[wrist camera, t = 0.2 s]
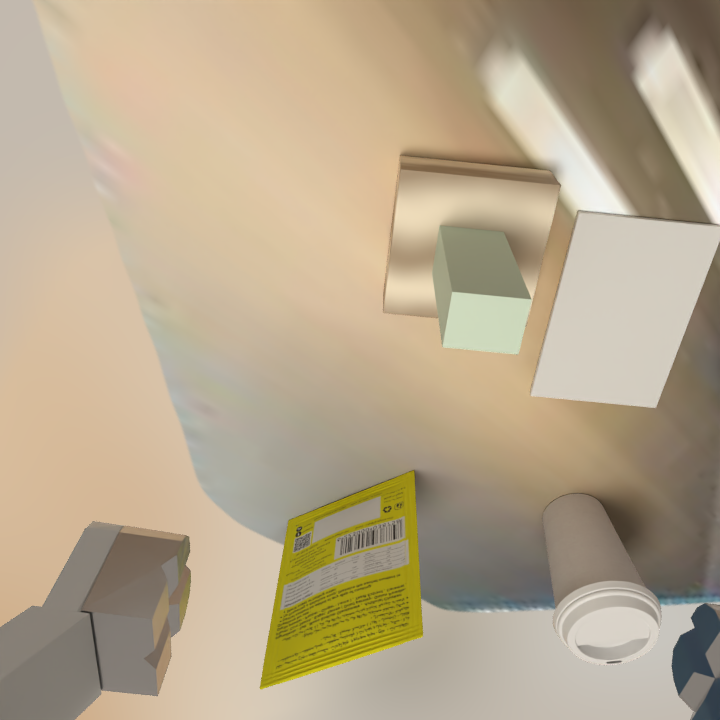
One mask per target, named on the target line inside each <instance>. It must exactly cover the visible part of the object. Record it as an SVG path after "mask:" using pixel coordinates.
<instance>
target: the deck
mask: <svg viewBox="0 0 720 720" xmlns="http://www.w3.org/2000/svg"><path fill="white" fill-rule="evenodd" d="M560 187H561V185H560V184H559V182H558V181H557V179H556V178H555V177H554V175H553V174H552V173H551V171H548V170H539V169H529V168H519V167H509V166H499V165H489V164H480V163H470V162H460V161H450V160H440V159H430V158H421V157H411V156H401V155H400V159H399V168H398V176H397V184H396V192H395V201H394V209H393V217H392V226H391V234H390V242H389V251H388V259H387V267H386V275H385V284H384V292H383V313H389V314H399V315H410V316H420V317H430V318H438V312H437V305H436V298H435V290H434V283H433V276H432V270H433V264H434V257H435V251H436V245H437V238H438V232H439V226H440V225H441V226H451V227H461V228H471V229H481V230H491V231H501V232H504V234H505V236H506V239H507V241H508V243H509V246H510V248H511V251H512V253H513V255H514V258H515V260H516V263H517V265H518V268H519V270H520V272H521V275H522V277H523V280H524V282H525V284H526V287H527V289H528V292H529V294H530V296H531V299H532V301H533V297H534V293H535V289H536V285H537V281H538V277H539V273H540V269H541V265H542V260H543V256H544V252H545V248H546V244H547V240H548V236H549V232H550V228H551V224H552V220H553V216H554V212H555V208H556V204H557V199H558V195H559V191H560ZM532 301H531V305H532ZM531 305H530V309H531ZM530 309H529V313H530ZM529 313H528V317H529ZM528 317H527V321H528ZM527 321H526V325H525V327H526V326H527Z"/></svg>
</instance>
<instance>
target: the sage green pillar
mask: <svg viewBox="0 0 720 720" xmlns="http://www.w3.org/2000/svg"><path fill="white" fill-rule="evenodd" d="M432 276H433V283H434V290H435V298H436V305H437V312H438V319H439V326H440V333H441V340H442V347H446V348H456V349H466V350H477V351H487V352H498V353H508V354H519V350H520V346H521V342H522V338H523V333H524V329H525V325H526V321H527V317H528V313H529V309H530V305H531V301H532V299H531V296H530V294H529V292H528V289H527V287H526V284H525V282H524V280H523V277H522V275H521V272H520V270H519V268H518V265H517V263H516V260H515V258H514V255H513V253H512V251H511V248H510V246H509V243H508V241H507V239H506V236H505V234H504V232H501V231H491V230H481V229H471V228H461V227H451V226H441V225H440V226H439V232H438V238H437V245H436V251H435V257H434V264H433V270H432Z"/></svg>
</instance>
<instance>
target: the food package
mask: <svg viewBox="0 0 720 720" xmlns="http://www.w3.org/2000/svg"><path fill="white" fill-rule="evenodd" d="M422 636H423V626H422V610H421V591H420V571H419V552H418V533H417V514H416V496H415V474H414V470H413V471H410V472H408V473H405V474H403V475H400V476H398V477H396V478H394V479H391V480H389V481H386V482H384V483H381V484H379V485H376V486H374V487H371V488H369V489H366V490H364V491H361V492H359V493H356V494H354V495H351V496H349V497H346V498H344V499H341V500H339V501H336V502H334V503H331V504H329V505H326V506H324V507H321V508H319V509H316V510H314V511H311V512H309V513H306V514H304V515H301V516H298V517H296V518H293V519H291V520H289V521H288V527H287V532H286V538H285V543H284V550H283V555H282V561H281V567H280V573H279V579H278V584H277V590H276V596H275V602H274V608H273V614H272V619H271V625H270V631H269V636H268V643H267V649H266V654H265V659H264V666H263V672H262V678H261V685H260V689H263V688H267V687H269V686H273V685H276V684H280V683H283V682H286V681H289V680H293V679H296V678H299V677H302V676H305V675H308V674H311V673H315V672H318V671H321V670H324V669H327V668H330V667H333V666H336V665H339V664H343V663H346V662H349V661H351V660H355V659H358V658H361V657H364V656H367V655H370V654H373V653H376V652H379V651H382V650H384V649H388V648H391V647H394V646H397V645H400V644H403V643H405V642H408V641H411V640H414V639H417V638H421V637H422Z"/></svg>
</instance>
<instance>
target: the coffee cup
mask: <svg viewBox="0 0 720 720" xmlns="http://www.w3.org/2000/svg"><path fill="white" fill-rule="evenodd" d="M542 519H543V527H544V534H545V540H546V547H547V553H548V560H549V566H550V573H551V579H552V586H553V593H554V600H555V607H556V609H555V612H554V615H553V626H554V629H555V632H556V633H557V635H558V637H559V638H560V639H561V641H562V642H563V643H564V644H565V645H566V646H567V647H568V648H569V649H570V650H571V652H572V653H573V654H574V655H575V656H577V657H578V658H580V659H581V660H584V661H586V662H589V663H593V664H599V665H615V664H621V663H625V662H629V661H632V660H634V659H637V658H639V657H641V656H642V655H644V654H645V653H647V652H648V651H649V650H650V649H651V648H652V647H653V646H654V645H655V643H656V641H657V639H658V636H659V628H660V625H661V617H662V615H661V606H660V603H659V601H658V599H657V597H656V596H655V595H654V594H653V593H652V592H651V591H649V590H648V589H646V587H645V585H644V584H643V582H642V580H641V578H640V576H639V574H638V572H637V570H636V569H635V567H634V565H633V563H632V561H631V559H630V557H629V555H628V553H627V551H626V550H625V548H624V546H623V544H622V542H621V540H620V538H619V536H618V534H617V532H616V531H615V529H614V527H613V525H612V523H611V521H610V519H609V517H608V515H607V513H606V511H605V509H604V508H603V506H602V504H601V503H600V502H599V501H598V500H597V499H596V498H594V497H592V496H589V495H586V494H568V495H564V496H562V497H559V498H557V499H555V500H554V501H553V502H551V503H550V504H549V505H548V506H547V508H546V509H545V511H544V513H543V518H542Z"/></svg>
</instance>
